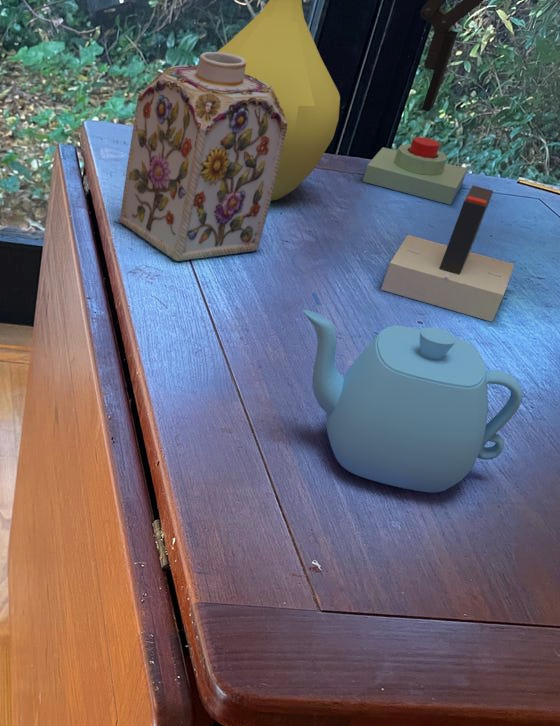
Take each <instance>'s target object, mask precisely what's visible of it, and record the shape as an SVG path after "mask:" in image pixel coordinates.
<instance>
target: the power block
mask: <svg viewBox="0 0 560 726" xmlns="http://www.w3.org/2000/svg"><path fill="white" fill-rule="evenodd" d="M411 144H412V143H408V144H400V146H399V147H398V148H397V149H396V150H395V149H393V148H387V147H381V149H380V150H379V151H378V152H377V153H376V154H375V156H373V158H372V159H371V160H370V161H369V163H367V165H366V168H365V171H364V175H363V178H362V183H366V184H369V185H374V186H377V187H381V188H385V189H388V190H392V191H396V192H400V193H404V194H408V195H411V196H415V197H418V198H423V199H427V200H430V201H434V202H438V203H441V204H445V205H449V206H450V205H452V203H453V202H454V200H455V198H456V196H457V195H458V192H459V191H460V189H461V187H462V186H463V183H464V180H465V178H466V176H467V172H468V168H466V167H462V166H458V165H455V164H451V163H447V161H448V156H447V155H446V154H445V153H444V152H443V151H440V150H438V152H437V155H436V158H424V157H421V156H417V155H414V154H412V153H410V152H409V150H410V147H411Z"/></svg>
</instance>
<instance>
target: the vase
mask: <svg viewBox="0 0 560 726" xmlns="http://www.w3.org/2000/svg"><path fill="white" fill-rule="evenodd" d="M302 2H303V0H268V1H267V3H266V4H265V6H264V7H263V8H262V10H261V11H260V12H259V13H258V14H257V15H256V16H255V17H254V18H253V19H252V20H250V22H249V23H247V25H245V26H244V27H243V28H242V29H241V30H240V31H239V32H238V33H237V34H235V36H234V37H232V38H231V39H230V40H229V41H228V42H227V43H226V44H225V45H223V46H222V47H221V48H220V49H218V50H217V52H222V53H229V54H233V55H237V56H240V57H242V58H243V59H245V61H246V67H245V73H244V74H246V75H249V76H251V77H254V78H256V79H258V80H260V81H262V82H264V83H266V84H268V85H270V86H272V88H273V90H274V92H275V95H276V97H277V98H278V101H279V103H280V106H281V108H282V109H283V112H284V115H285V119H286V121H287V125H288V126H287V132H286V135H285V140H284V144H283V148H282V153H281V157H280V162H279V167H278V171H277V175H276V179H275V184H274V188H273V192H272V197H271V201H270V202H272V201H278V200H279V199H282V198H284V197H285V196H287V195H289V194H290V193H292V192H293V191H294V190H296V189H297V188H298V187H299V186H300V185H301V184H302V183H303V182H304V181H305V180H306V179H307V178H308V177H309V176H310V175H311V174H312V173H313V171H314V170H315V168H316V167H317V165H318V164H319V162H320V161H321V159H322V157H323V156H324V154H325V152H326V151H327V149H328V147H329V146H330V144H331V143H332V140H333V139H334V136H335V133H336V131H337V130H336V129H337V127H338V122H339V121H340V120H339V118H340V107H341V103H340V102H341V95H340V92H339V90H338V88H337V86H336V84H335V82H334V80H333V78H332V76H331V75H330V72H329V70H328V69H327V66H326V65H325V63H324V61H323V59H322V57H321V55H320V52H319V50H318V48H317V45H316V43H315V41H314V38H313V35H312V34H311V31H310V29H309V27H308V24H307V22H306V20H305V16H304V9H303V3H302Z"/></svg>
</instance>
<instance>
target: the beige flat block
mask: <svg viewBox="0 0 560 726" xmlns="http://www.w3.org/2000/svg"><path fill="white" fill-rule="evenodd" d="M447 246H448V244H444V243H440V242H436V241H432V240H429V239H425V238H422V237H418V236H414V235H411V234H407V235H406V237H405V238H404V239H403V241H402V243H401V244H400V246H399V248H398V249H397V251H396V252H395V254H394V256H393V257H392V259H391V260H390V262H389V265H388V267H387V270H386V273H385V276H384V279H383V282H382V285H381V288H380V291H384V292H387V293H391V294H394V295H398V296H401V297H405V298H408V299H411V300H415V301H418V302H422V303H425V304H429V305H432V306H435V307H439V308H442V309H446V310H448V311H449V310H450V311H453V312H456V313H459V314H463V315H467V316H469V317H473V318H477V319H481V320H482V321H483V320H484V321H486V322H490V323H493V321H494V320H495V317H496V315H497V312H498V310H499V307H500V305H501V302H502V300H503V298H504V295H505V293H506V290H507V287H508V284H509V281H510V279H511V276H512V273H513V271H514V267H515V265H516V264H515V263H514V262H513V263H512V262H510V261H505V260H502V259H498V258H495V257H490V256H487V255H483V254H480V253H476V252H472V251H470V253H469V256H468V258H467V260H466V262H465V264H464V266H463V269H462V271H461V273H460V274H456V273H453V272H449V271H446V270H442V269H439V268H440V265H441V262H442V260H443V257H444V254H445V252H446V249H447Z"/></svg>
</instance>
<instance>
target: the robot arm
mask: <svg viewBox="0 0 560 726" xmlns="http://www.w3.org/2000/svg"><path fill="white" fill-rule="evenodd" d="M484 1H485V0H460V2H458V3H457V4H456V5H455V6H454V7H452V8H451V9H450V10H449V11H446V10H444V9H443V8H442V6H443V5H445V3H446V2H447V0H427V1H426V3H425V4H423V6H422V7H421V9H420V11H419V17H420V18H421V20H423V21H426V22H427V23H429V24H430V25H431V26H432V27H433V35H432V37H431V41H430V45H429V48H428V51H427V54H426V57H425V59H424V60H425V61H424V68H425V69H427V70H432V71H433V73H432V76H431V79H430V83H429V85H428V89H427V91H426V95H425V98H424V101H423V103H422V107H421V111H424V112H430V111H431V110H432V109H433V107H435V103H436V100H437V97H438V94H439V92H440V91H439V90H440V88H441V85H442V81H443V79H444V75H445V73H446V70H447V67H448V64H449V61H450V59H451V54H452V52H453V49H454V46H455V43H456V40H457V36H458V35H459V31H456V30H451V28H452V27H453V26H454V25H455V24H457V23H458V22H459V21H460V20H461V19H463V18H464V17H465V16H467V15H468V14H469V13H470V12H472V11H473V10H474V9H475V8H477V7H478V6H480V4H482V3H483V2H484Z"/></svg>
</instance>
